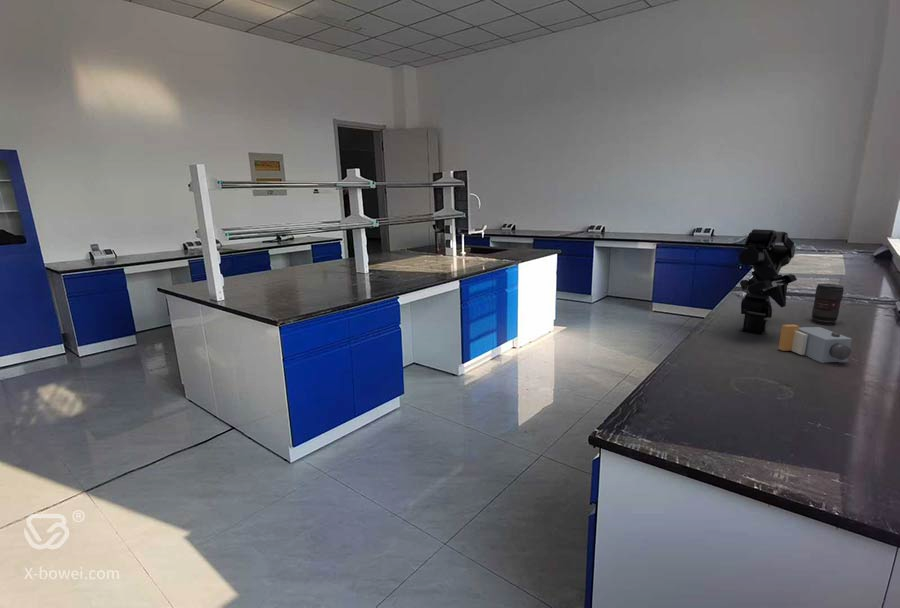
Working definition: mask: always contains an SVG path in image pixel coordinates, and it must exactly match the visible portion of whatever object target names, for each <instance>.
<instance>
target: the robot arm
mask: <svg viewBox="0 0 900 608" xmlns="http://www.w3.org/2000/svg"><path fill="white" fill-rule="evenodd" d="M777 243H781V244H777ZM782 244H783V245H782ZM743 248H744V249H743V250H742V251H741V252H740V253H739V256H738V260H739V262H740V263H741V264H742V265H743V266H747V267H750V266H751V267H752V270H753V271H751V277H750V278H748V279H741V280H740V281H739V285H740V288H741V290H742V291H746V294H745V296H744V297H743V298H742V299H741V303H740V314H741V315H744V317H743V326H742V328H741V329H740V331H742V332H746V333H751V334H758V335H763V334H764V333H765V332H766V331H767V330H768V323H769V321H768V319H769V318H770V319H771V318H772V317H773V307H772V306H773V305H772V303H771V299H772V300H773V301H774V302H775V303H776V304H777V305H778V306H779V307H780V308H784V307H786V305H787V291H788V286H789V284H791V283H793V282H795V281H797V280H798V279H797V277H796V275H795V274H794V273H793V274H792V273H789V274H785V275H782V274H780V271H781V269H782V268H783V267H785V266H787V265H789V264H790V262H791V260H792V259H793V258H794V256H795V253H796V250H795V249H796V248H795V242H794V241H793V240H791V238H790V237H789V234H788V232H786V231H776V230H774V229H756V228H755V229H754V228H753V229H752V230H751V232H749V233H748V235H747V237H746V240H745V242H744V243H743Z"/></svg>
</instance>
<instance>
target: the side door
mask: <svg viewBox="0 0 900 608" xmlns="http://www.w3.org/2000/svg"><path fill="white" fill-rule="evenodd" d="M799 328H800V326H799V325H797V324H782V325H781V328H780V329H781V330H780V336H779V343H778V350H780V351H783V352H784V351H785V352H786V351H787V352H788V351H791V352H794V353H796V354H798V355H800V356H805V349H806V343H807V338H808V335H807V334H804V333H802V332H799V331H798V330H799Z"/></svg>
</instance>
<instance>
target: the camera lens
mask: <svg viewBox="0 0 900 608" xmlns="http://www.w3.org/2000/svg"><path fill="white" fill-rule="evenodd" d="M844 287H845V286H843V285H839V284H835V283H834V284H833V283H818V284H817V286H816V287H815V288H816V289H815V293H814V301H813V307H812V312H811V318H812V323H814V322H815V323H814V324H817V323H819V324H818V325H822V324H825V325H824V326H833V325H835V323H836V321H837V320H838V317H839V313H840V308H841V307H840V306H841V302H842V299H843V295H844V290H845V289H844Z"/></svg>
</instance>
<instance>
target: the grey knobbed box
mask: <svg viewBox="0 0 900 608" xmlns="http://www.w3.org/2000/svg"><path fill="white" fill-rule="evenodd" d="M798 331H799V332H802V333H804V334H807V335H808V338H807V343H806V349H805V355H806V356H805V355H804V356H805V357H807V356H808V357H807V358H809V357H810V359H811V358H812V359H811V360H814V361H816V362H818V361H819V362H818V363H820V362H821V363H822V364H825V363H824V362H839V363H848V360H849V357H851V354H852V350H851V347H852V341H853V338H851V337H848V336H845V335H843V334H841V333H839V332H835V331H831V330H829V329H826V328H823V327H820V326H814V327H813V326H809V327H808V326H806V327H799V330H798Z"/></svg>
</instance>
